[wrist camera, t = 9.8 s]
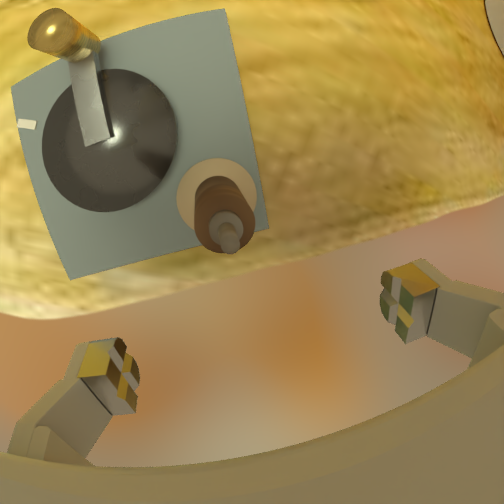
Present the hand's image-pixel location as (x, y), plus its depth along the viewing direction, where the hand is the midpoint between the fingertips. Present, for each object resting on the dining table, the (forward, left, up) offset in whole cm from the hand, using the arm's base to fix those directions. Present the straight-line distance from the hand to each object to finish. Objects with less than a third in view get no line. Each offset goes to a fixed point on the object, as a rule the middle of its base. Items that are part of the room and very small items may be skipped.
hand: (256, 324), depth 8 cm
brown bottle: (0, 0, -15) cm, 15 cm away
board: (+6, -5, -17) cm, 19 cm away
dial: (+7, -8, -15) cm, 18 cm away
